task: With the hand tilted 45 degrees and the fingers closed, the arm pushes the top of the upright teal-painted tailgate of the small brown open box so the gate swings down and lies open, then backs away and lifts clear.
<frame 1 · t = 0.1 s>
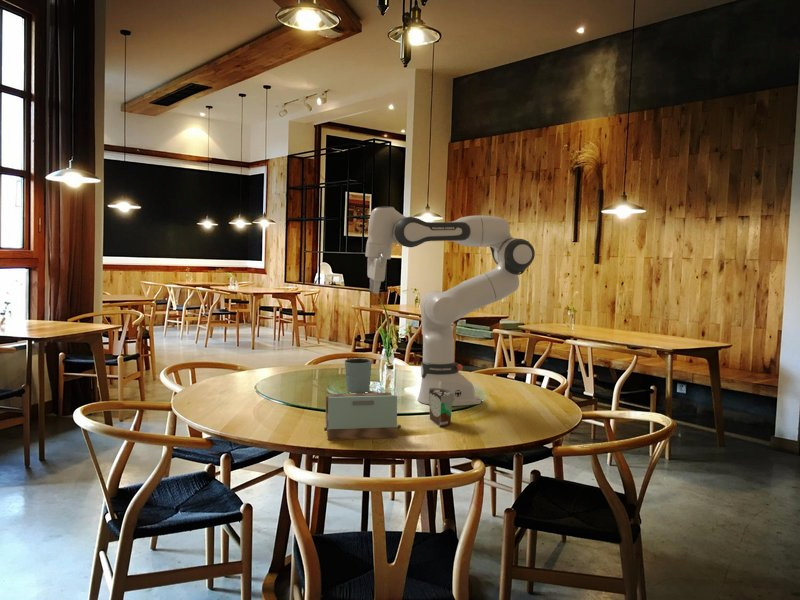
hand: (374, 292, 227), 39 cm above the table, tool pointing down, fingers open, 8 cm apart
food container: (443, 423, 206), on the table
gray cup: (357, 392, 247), on the table
tailgate: (362, 412, 188), point 8 cm above the table, hinge at -3.0°
brown open box: (360, 431, 195), on the table
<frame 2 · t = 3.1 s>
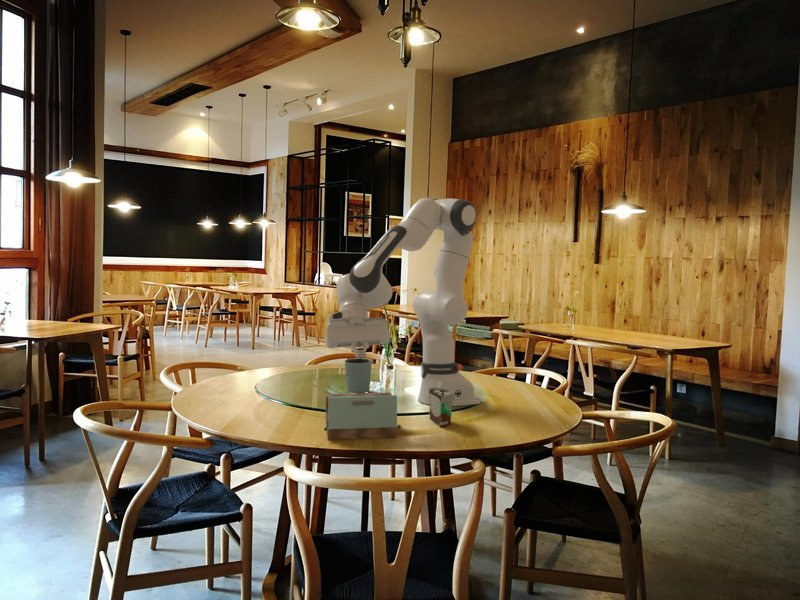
hand: (361, 356, 202), 21 cm above the table, tool tilted 40°, fingers closed
nothing on the table moved.
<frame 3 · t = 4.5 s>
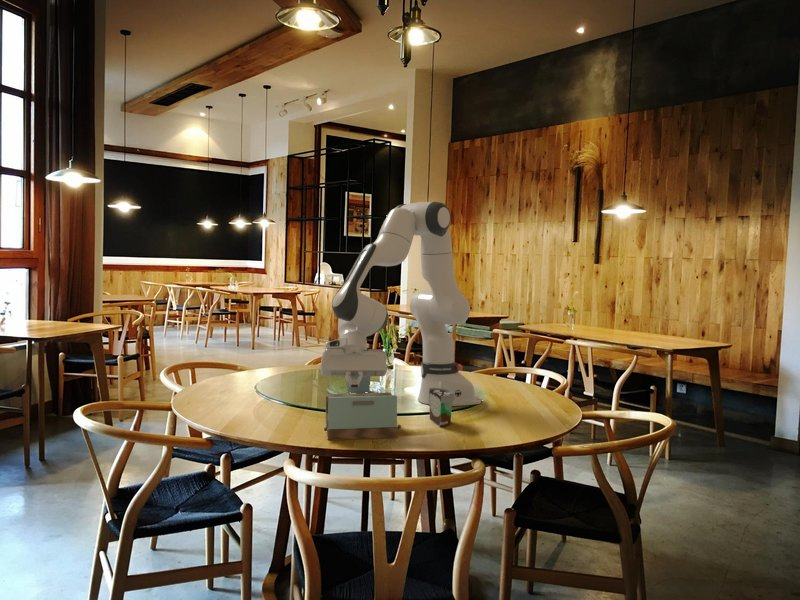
hand: (354, 386, 194), 14 cm above the table, tool tilted 45°, fingers closed
nothing on the table moved.
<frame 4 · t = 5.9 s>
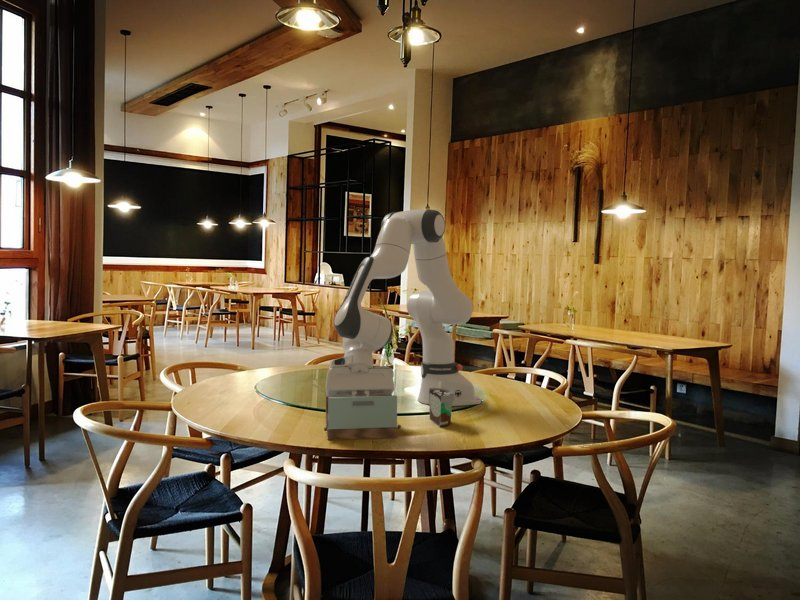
hand: (361, 406, 189), 9 cm above the table, tool tilted 45°, fingers closed, pressing on tailgate
tailgate: (362, 412, 187), point 8 cm above the table, hinge at -0.5°, touching gripper
everything else where it was.
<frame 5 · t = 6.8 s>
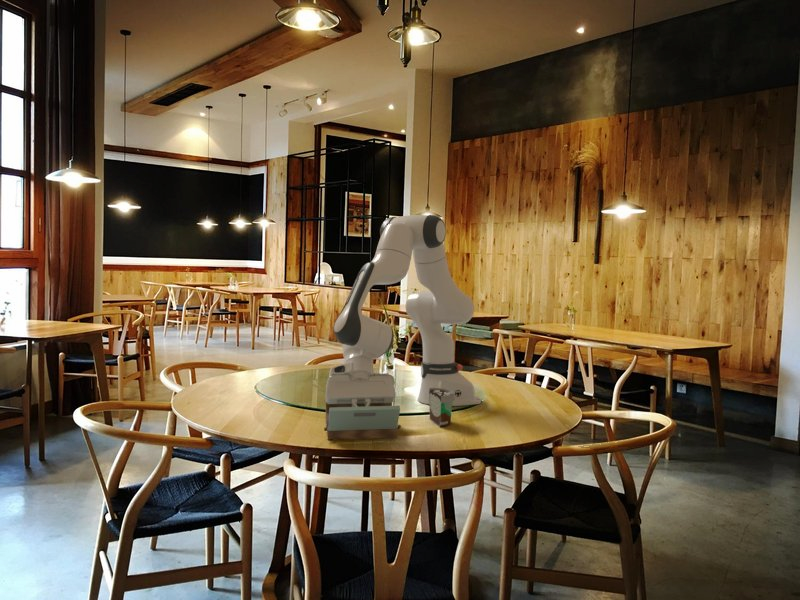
hand: (361, 414, 185), 8 cm above the table, tool tilted 45°, fingers closed, pressing on tailgate
tailgate: (363, 418, 185), point 7 cm above the table, hinge at 37.4°, touching gripper
everything else where it was.
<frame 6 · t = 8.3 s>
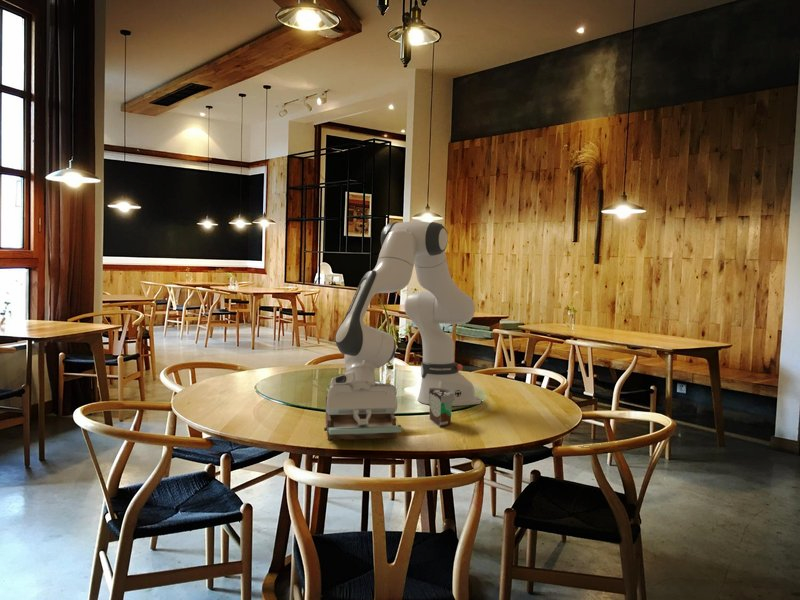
hand: (363, 426, 183), 5 cm above the table, tool tilted 45°, fingers closed, pressing on tailgate
tailgate: (364, 430, 183), point 4 cm above the table, hinge at 78.0°, touching gripper
everything else where it was.
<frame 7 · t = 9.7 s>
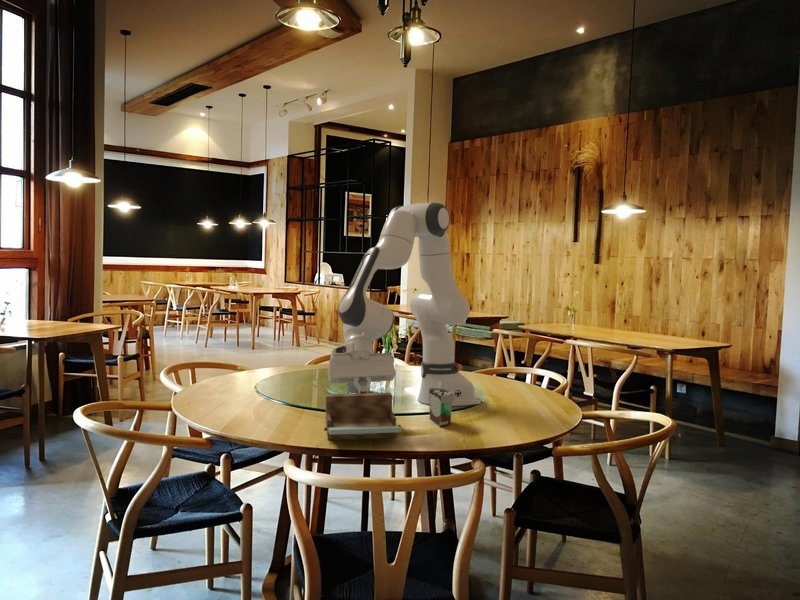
hand: (363, 392, 193), 12 cm above the table, tool tilted 45°, fingers closed
tailgate: (364, 430, 183), point 4 cm above the table, hinge at 78.0°
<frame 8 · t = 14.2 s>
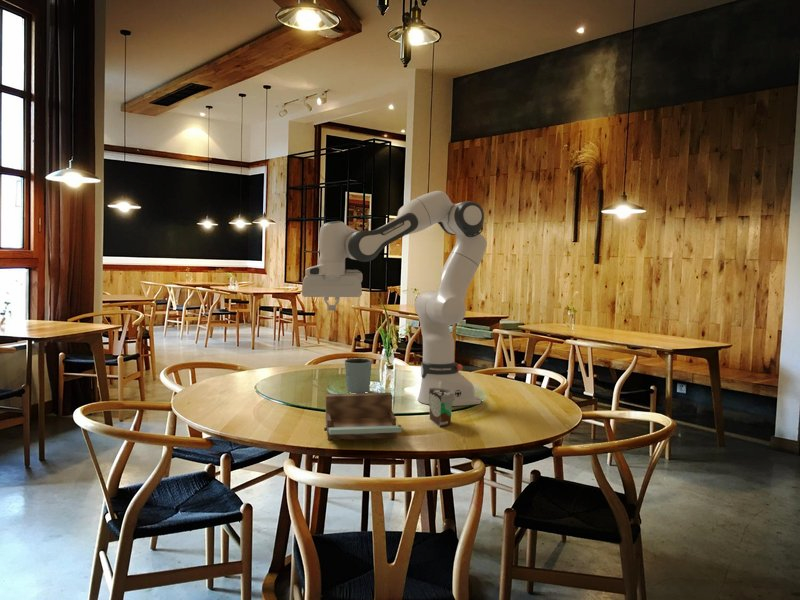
hand: (331, 310, 222), 33 cm above the table, tool pointing down, fingers closed
at the end: tailgate at +78° (first picture: -3°) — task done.
